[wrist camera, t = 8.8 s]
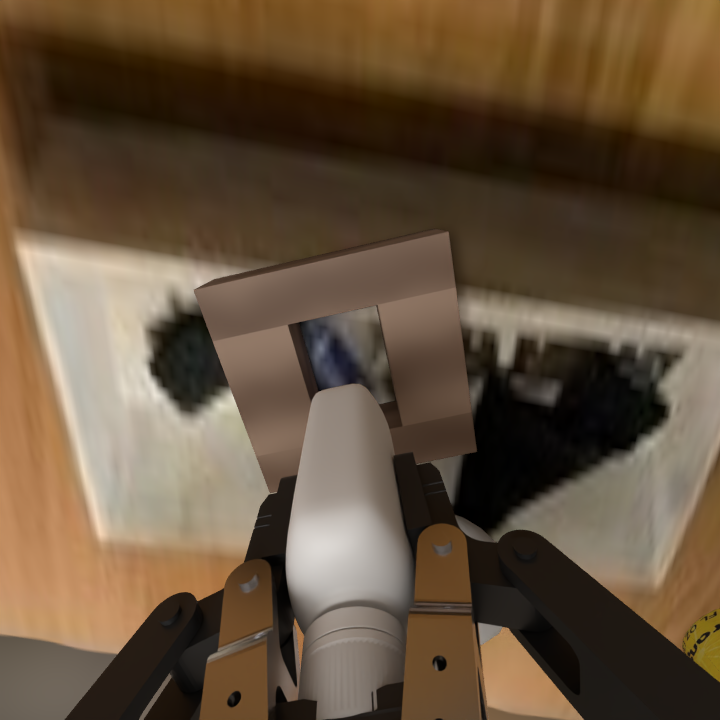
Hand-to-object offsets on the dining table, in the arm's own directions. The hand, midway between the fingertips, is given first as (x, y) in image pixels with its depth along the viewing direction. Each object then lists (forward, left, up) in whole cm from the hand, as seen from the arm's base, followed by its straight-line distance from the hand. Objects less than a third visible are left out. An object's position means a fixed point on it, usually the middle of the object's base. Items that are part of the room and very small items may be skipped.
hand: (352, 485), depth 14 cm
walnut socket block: (0, 0, -13) cm, 13 cm away
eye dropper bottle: (0, 0, -3) cm, 3 cm away
